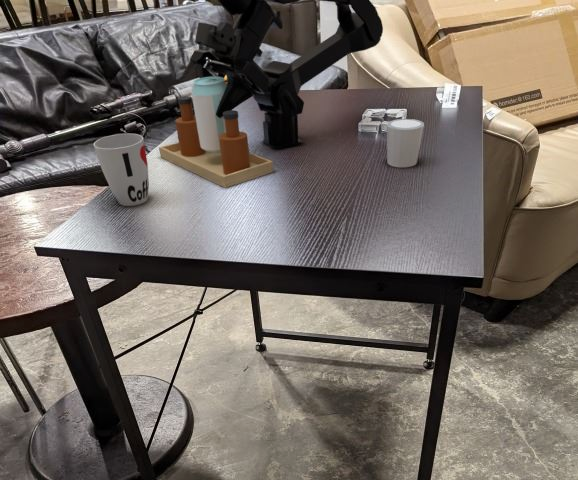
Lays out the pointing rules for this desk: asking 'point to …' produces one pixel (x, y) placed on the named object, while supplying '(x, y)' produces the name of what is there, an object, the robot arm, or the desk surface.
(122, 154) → the cup
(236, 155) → the amber bottle near
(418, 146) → the shot glass
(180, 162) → the tray
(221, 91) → the can
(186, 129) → the amber bottle far
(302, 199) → the desk surface
